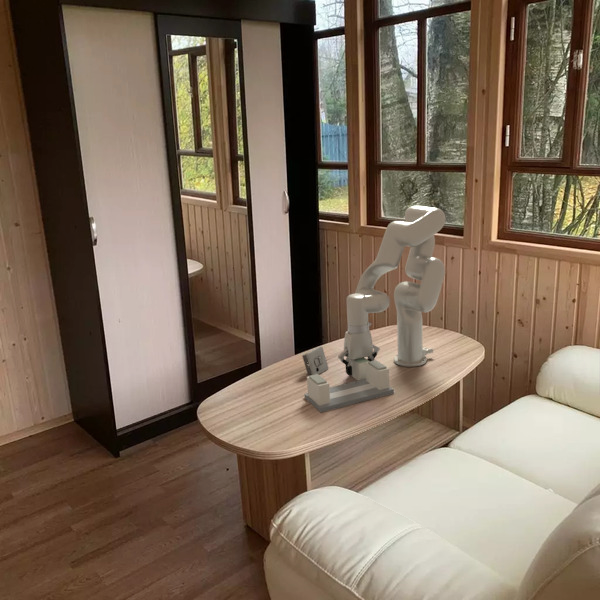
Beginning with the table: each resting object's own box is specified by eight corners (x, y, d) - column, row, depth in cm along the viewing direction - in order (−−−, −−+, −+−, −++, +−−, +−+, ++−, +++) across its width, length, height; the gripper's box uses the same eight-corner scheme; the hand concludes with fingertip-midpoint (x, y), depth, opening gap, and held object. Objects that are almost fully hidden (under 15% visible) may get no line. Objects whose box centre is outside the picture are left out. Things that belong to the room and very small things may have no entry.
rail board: (374, 380, 220) (374, 376, 219) (393, 393, 208) (393, 389, 208) (304, 397, 209) (304, 393, 209) (320, 412, 198) (320, 408, 197)
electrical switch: (314, 377, 226) (311, 354, 224) (303, 376, 229) (300, 352, 227) (329, 369, 233) (326, 346, 231) (318, 367, 236) (315, 345, 234)
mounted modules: (376, 378, 217) (375, 358, 215) (389, 387, 210) (389, 367, 207) (308, 395, 207) (306, 375, 205) (319, 405, 199) (318, 384, 197)
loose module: (359, 372, 228) (359, 353, 226) (370, 379, 221) (370, 360, 219) (349, 374, 226) (348, 356, 224) (359, 382, 219) (359, 363, 217)
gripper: (373, 320, 225) (374, 364, 230) (331, 329, 218) (334, 374, 223) (384, 326, 218) (385, 371, 223) (341, 335, 212) (343, 381, 217)
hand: (359, 372), depth 223 cm, fingers open, 8 cm apart
